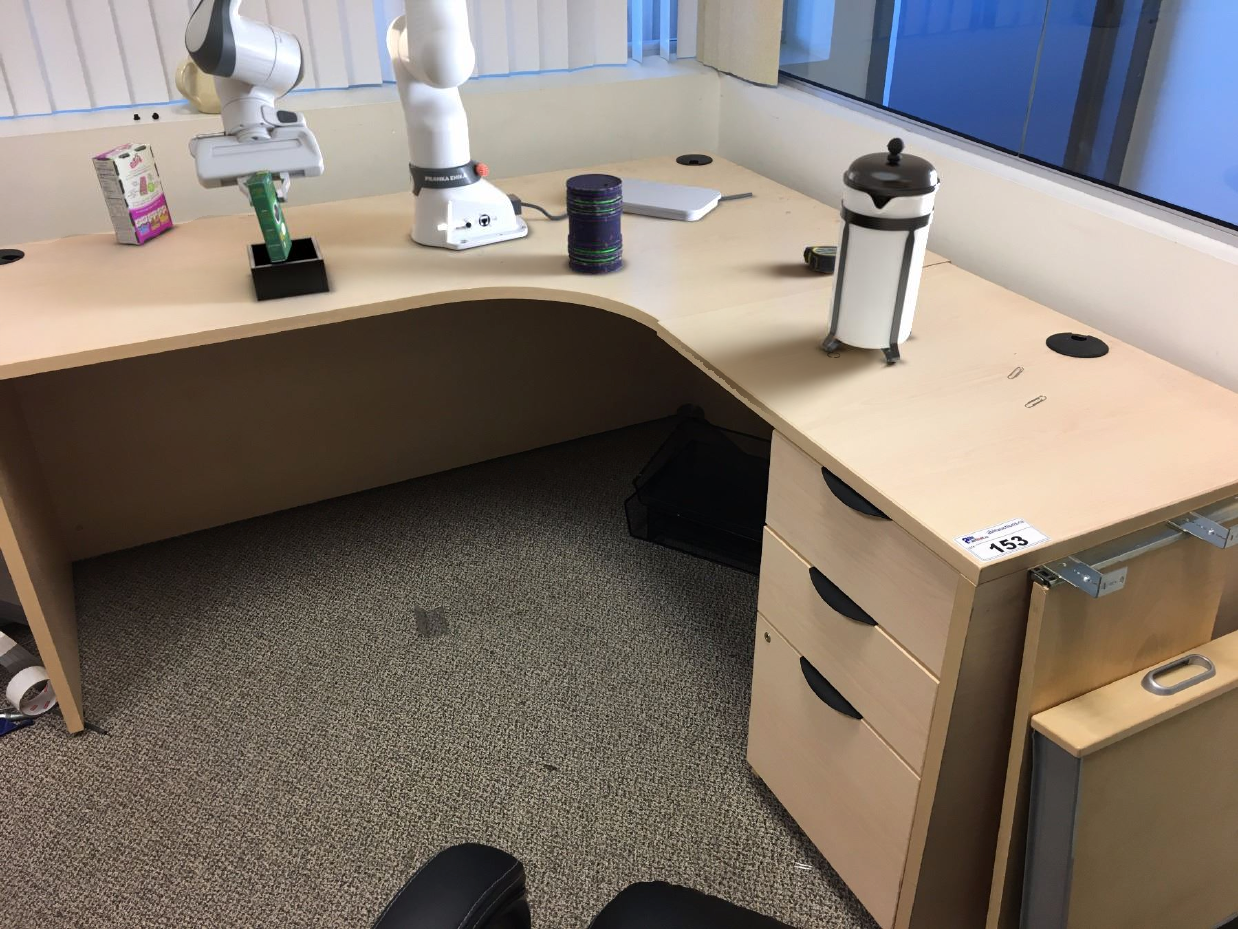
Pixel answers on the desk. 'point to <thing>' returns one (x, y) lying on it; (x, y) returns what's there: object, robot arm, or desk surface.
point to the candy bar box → (133, 193)
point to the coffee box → (269, 215)
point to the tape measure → (821, 258)
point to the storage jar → (594, 223)
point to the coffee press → (880, 249)
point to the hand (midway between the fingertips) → (269, 202)
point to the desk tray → (288, 270)
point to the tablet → (667, 199)
